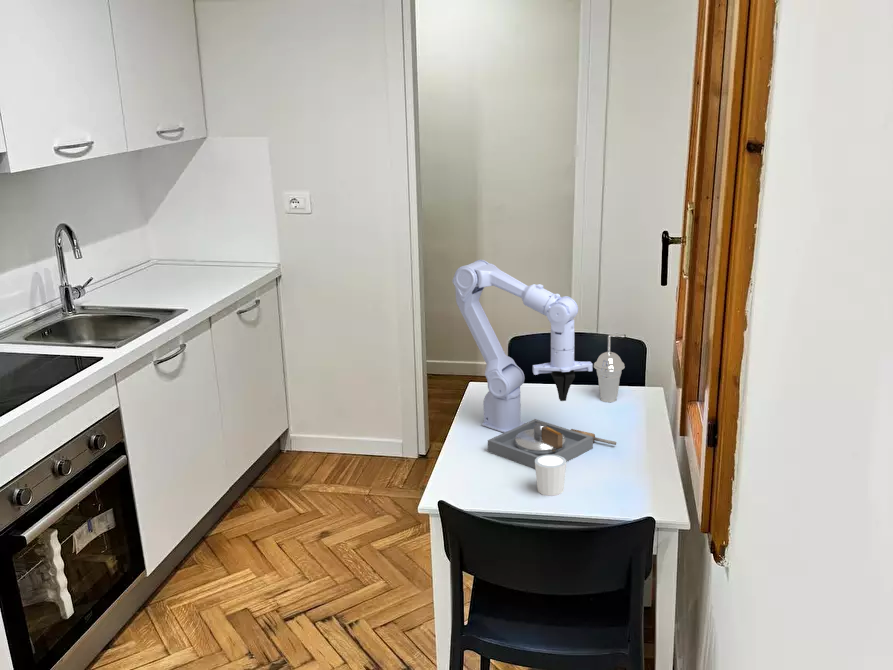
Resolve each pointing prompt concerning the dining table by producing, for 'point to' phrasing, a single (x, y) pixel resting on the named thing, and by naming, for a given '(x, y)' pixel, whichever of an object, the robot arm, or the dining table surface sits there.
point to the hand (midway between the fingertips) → (562, 399)
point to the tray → (507, 449)
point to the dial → (540, 440)
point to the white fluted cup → (550, 474)
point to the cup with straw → (609, 373)
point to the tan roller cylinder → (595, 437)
